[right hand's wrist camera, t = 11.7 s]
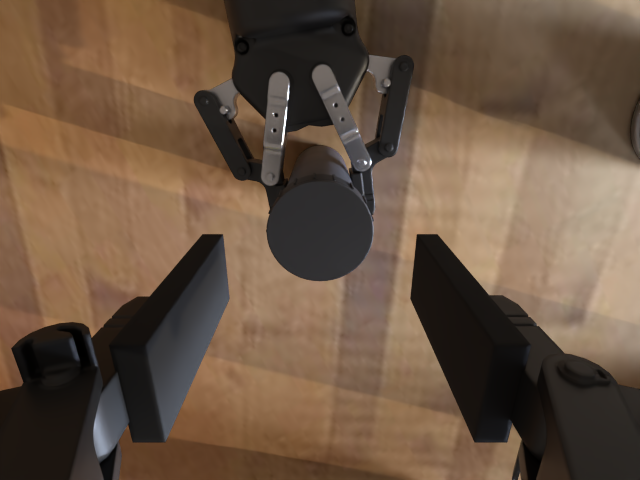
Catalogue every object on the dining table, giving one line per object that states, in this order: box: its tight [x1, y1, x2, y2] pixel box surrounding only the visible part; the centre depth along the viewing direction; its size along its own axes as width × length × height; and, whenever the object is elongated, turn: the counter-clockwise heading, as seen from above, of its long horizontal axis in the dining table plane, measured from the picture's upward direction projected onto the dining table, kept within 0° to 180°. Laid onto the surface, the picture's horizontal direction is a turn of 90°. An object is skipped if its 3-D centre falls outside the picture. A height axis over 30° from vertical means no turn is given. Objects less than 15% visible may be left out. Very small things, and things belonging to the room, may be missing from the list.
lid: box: [266, 173, 374, 281], centre depth 18 cm, size 5×5×2 cm
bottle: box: [287, 145, 352, 186], centre depth 25 cm, size 4×4×15 cm
